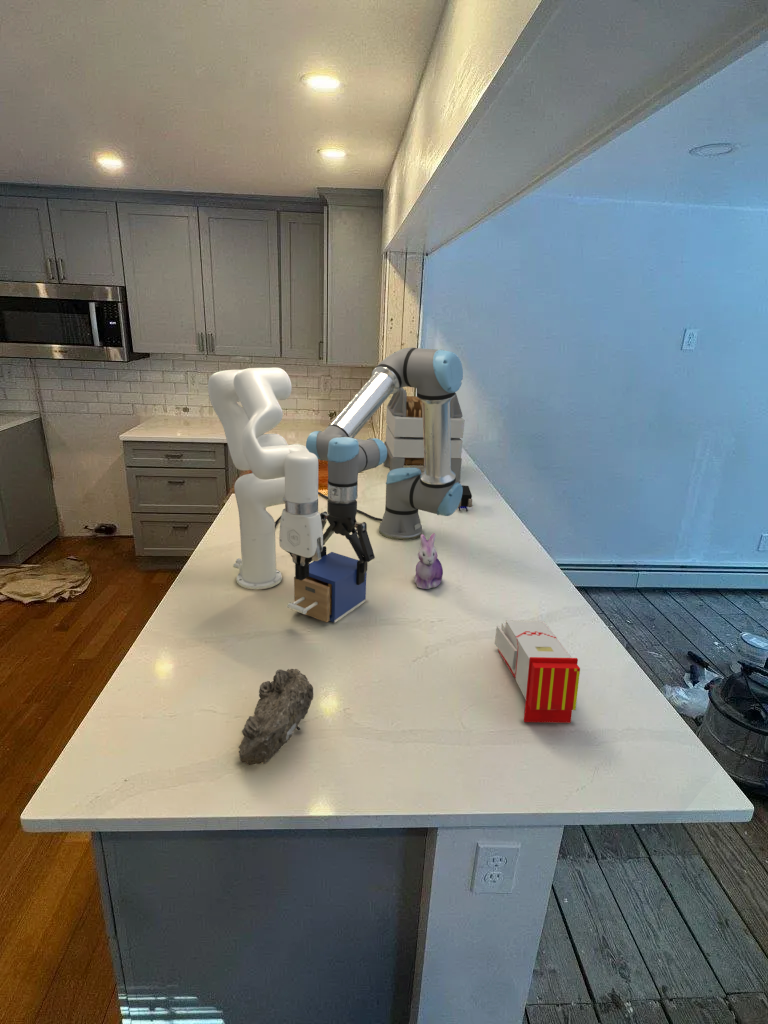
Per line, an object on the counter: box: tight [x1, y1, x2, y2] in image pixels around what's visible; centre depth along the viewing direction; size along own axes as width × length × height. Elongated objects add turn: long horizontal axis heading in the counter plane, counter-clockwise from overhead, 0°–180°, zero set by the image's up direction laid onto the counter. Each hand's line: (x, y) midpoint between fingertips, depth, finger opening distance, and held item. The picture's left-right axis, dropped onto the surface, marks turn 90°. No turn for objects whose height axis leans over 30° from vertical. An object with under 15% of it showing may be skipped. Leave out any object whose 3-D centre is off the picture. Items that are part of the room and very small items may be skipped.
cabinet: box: [309, 551, 368, 624], centre depth 149 cm, size 14×12×12 cm
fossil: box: [238, 668, 314, 766], centre depth 104 cm, size 22×10×15 cm
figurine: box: [413, 532, 444, 590], centre depth 162 cm, size 9×10×15 cm
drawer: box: [287, 576, 332, 623], centre depth 144 cm, size 18×10×9 cm, turn 148°
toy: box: [494, 619, 581, 724], centre depth 121 cm, size 12×13×30 cm
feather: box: [274, 515, 281, 529], centre depth 210 cm, size 2×28×2 cm
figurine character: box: [457, 484, 473, 512], centre depth 229 cm, size 7×8×15 cm
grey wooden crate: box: [382, 387, 465, 483], centre depth 268 cm, size 34×33×41 cm
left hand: (302, 577), depth 136 cm, fingers closed
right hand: (340, 576), depth 151 cm, fingers open, 12 cm apart
